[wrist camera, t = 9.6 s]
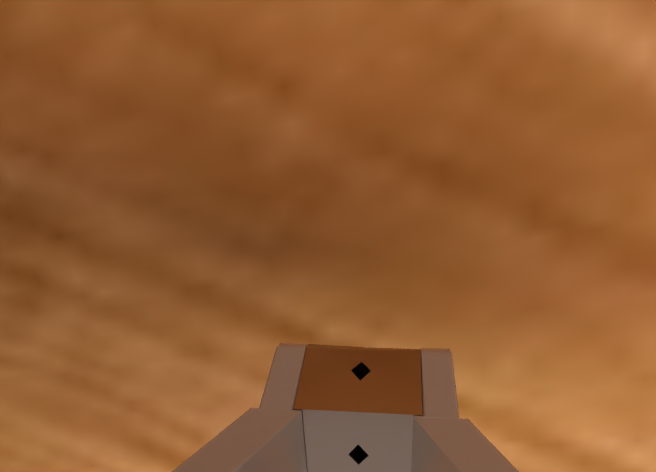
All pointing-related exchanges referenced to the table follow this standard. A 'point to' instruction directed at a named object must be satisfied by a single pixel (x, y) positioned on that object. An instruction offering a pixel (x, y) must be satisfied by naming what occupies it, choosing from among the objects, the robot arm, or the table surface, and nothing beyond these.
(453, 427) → the robot arm
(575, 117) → the table surface
